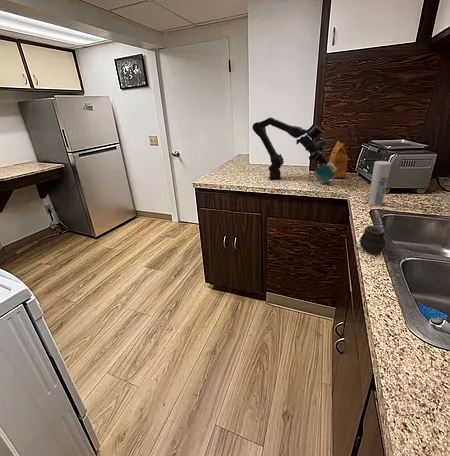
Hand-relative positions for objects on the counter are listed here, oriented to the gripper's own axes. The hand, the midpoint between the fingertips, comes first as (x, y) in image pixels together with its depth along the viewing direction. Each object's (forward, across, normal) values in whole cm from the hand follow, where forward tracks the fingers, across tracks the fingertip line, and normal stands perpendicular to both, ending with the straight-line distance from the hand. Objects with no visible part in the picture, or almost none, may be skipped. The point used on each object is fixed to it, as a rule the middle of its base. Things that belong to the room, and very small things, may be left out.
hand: (326, 163), depth 145 cm
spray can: (+28, -23, -10) cm, 37 cm away
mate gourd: (+27, -68, -9) cm, 74 cm away
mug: (+4, 0, +9) cm, 10 cm away
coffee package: (+12, +18, +6) cm, 22 cm away
